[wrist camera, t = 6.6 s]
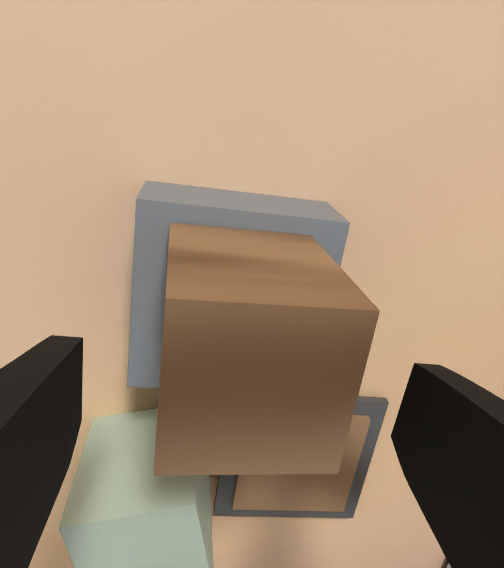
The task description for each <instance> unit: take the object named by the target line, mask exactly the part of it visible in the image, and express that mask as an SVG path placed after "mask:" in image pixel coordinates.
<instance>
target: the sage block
mask: <svg viewBox="0 0 504 568" xmlns="http://www.w3.org/2000/svg"><path fill="white" fill-rule="evenodd" d="M157 410H158V408H154V409H147V410H141V411H135V412H128V413H122V414H116V415H109V416H103V417H97V418H93V421H92V424H91V427H90V430H89V433H88V437H87V440H86V443H85V446H84V449H83V453H82V456H81V459H80V462H79V465H78V469H77V472H76V475H75V478H74V481H73V485H72V488H71V491H70V494H69V497H68V500H67V504H66V507H65V510H64V513H63V516H62V520H61V523H60V526H59V530H60V532H61V535H62V537H63V540H64V543H65V545H66V548H67V550H68V553H69V556H70V558H71V561H72V564H73V566H74V568H213V543H212V516H211V489H210V475H167V476H153V474H154V458H155V442H156V426H157Z"/></svg>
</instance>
